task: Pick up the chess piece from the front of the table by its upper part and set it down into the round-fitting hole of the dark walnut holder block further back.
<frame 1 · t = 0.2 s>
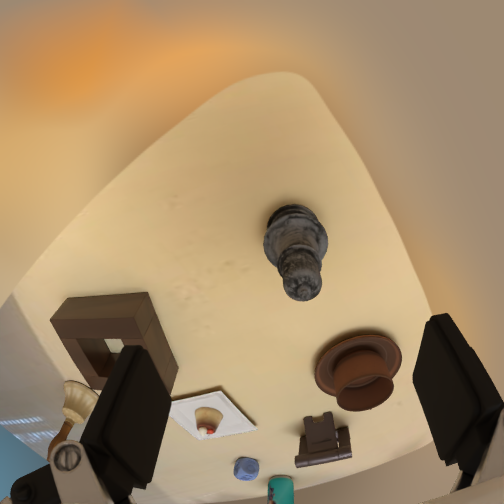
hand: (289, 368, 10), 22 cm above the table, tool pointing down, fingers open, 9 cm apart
tablet stand: (321, 424, 47), on the table
dessert: (209, 412, 47), on the table
cup and saucer: (356, 359, 40), on the table
beverage can: (280, 477, 59), on the table
decorative dice: (246, 460, 55), on the table
hand bell: (83, 394, 48), on the table
chess piece: (293, 228, 32), on the table
holder: (121, 334, 40), on the table
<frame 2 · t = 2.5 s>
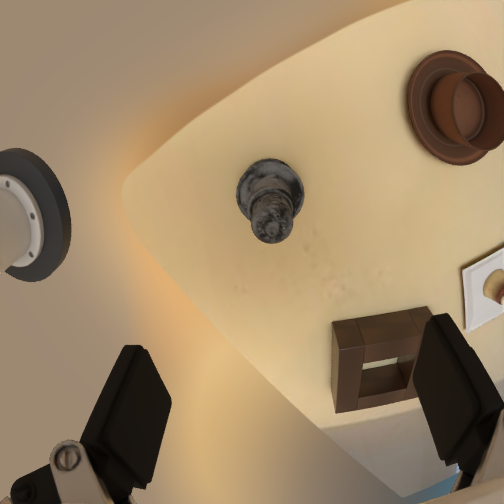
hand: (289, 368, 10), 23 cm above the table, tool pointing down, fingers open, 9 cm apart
dessert: (493, 282, 35), on the table
cup and saucer: (449, 106, 25), on the table
chess piece: (269, 184, 30), on the table
holder: (377, 350, 40), on the table
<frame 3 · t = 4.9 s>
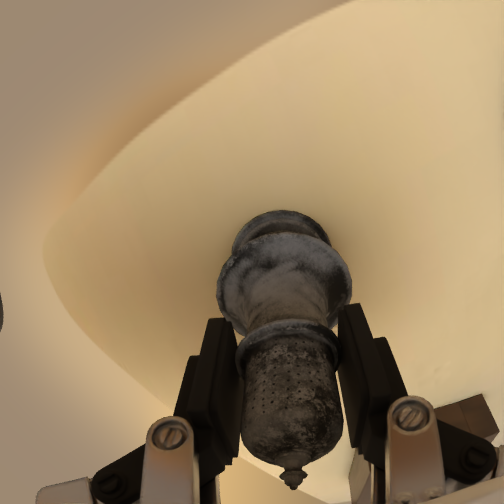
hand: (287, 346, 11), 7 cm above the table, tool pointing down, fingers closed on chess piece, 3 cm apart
chess piece: (281, 256, 17), on the table, touching gripper
holder: (411, 443, 26), on the table
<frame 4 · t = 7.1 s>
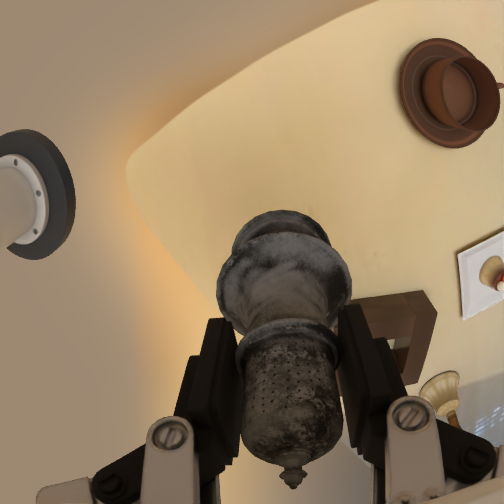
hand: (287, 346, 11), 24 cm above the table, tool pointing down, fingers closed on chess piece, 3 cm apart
dessert: (489, 268, 35), on the table
cup and saucer: (441, 92, 26), on the table
hand bell: (439, 385, 46), on the table
chess piece: (281, 256, 17), point 17 cm above the table, touching gripper
holder: (373, 334, 40), on the table
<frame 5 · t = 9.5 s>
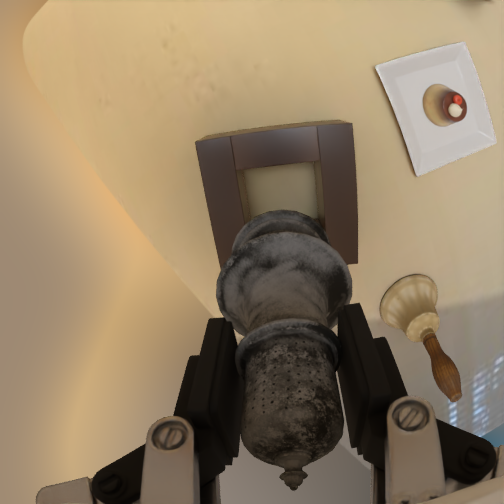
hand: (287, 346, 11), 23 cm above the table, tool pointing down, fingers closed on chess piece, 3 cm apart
dessert: (439, 104, 26), on the table
hand bell: (408, 301, 37), on the table
chess piece: (281, 256, 17), point 16 cm above the table, touching gripper
holder: (281, 189, 31), on the table
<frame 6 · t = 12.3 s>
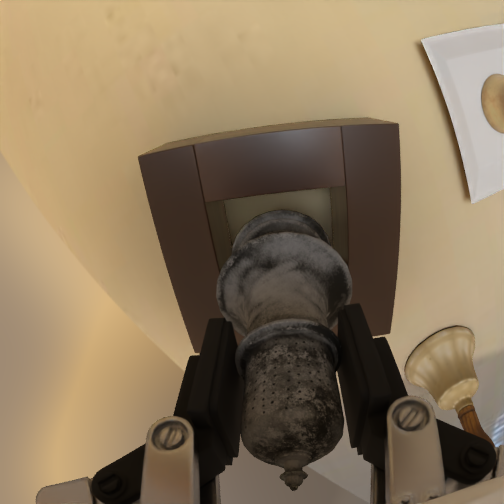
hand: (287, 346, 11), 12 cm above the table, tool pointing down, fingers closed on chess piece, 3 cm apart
dessert: (499, 103, 16), on the table
hand bell: (440, 355, 27), on the table
chess piece: (282, 256, 17), point 5 cm above the table, touching gripper
holder: (280, 222, 21), on the table
when the fingers open (7 cm above the table, at t = 14.1 s): chess piece stays where it is, resting in holder.
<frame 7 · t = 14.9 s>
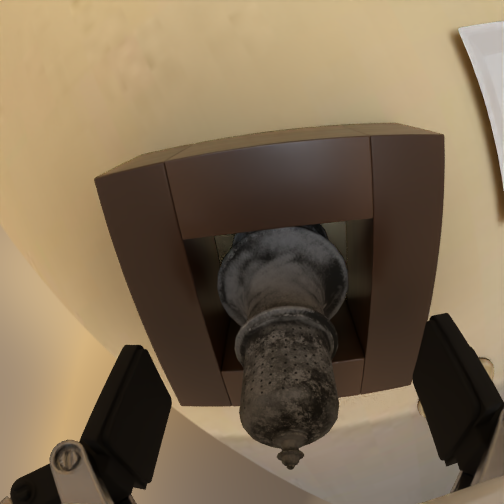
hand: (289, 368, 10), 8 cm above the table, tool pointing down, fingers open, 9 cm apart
chess piece: (280, 250, 17), resting in holder
holder: (282, 253, 17), on the table
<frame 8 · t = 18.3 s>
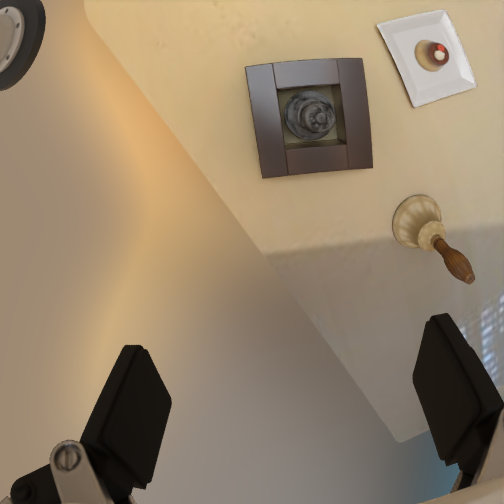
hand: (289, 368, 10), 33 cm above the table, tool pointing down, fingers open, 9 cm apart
dessert: (427, 55, 31), on the table
hand bell: (416, 221, 42), on the table
chess piece: (306, 114, 37), resting in holder
holder: (307, 114, 36), on the table
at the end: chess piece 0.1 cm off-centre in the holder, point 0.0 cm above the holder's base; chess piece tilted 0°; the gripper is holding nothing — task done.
